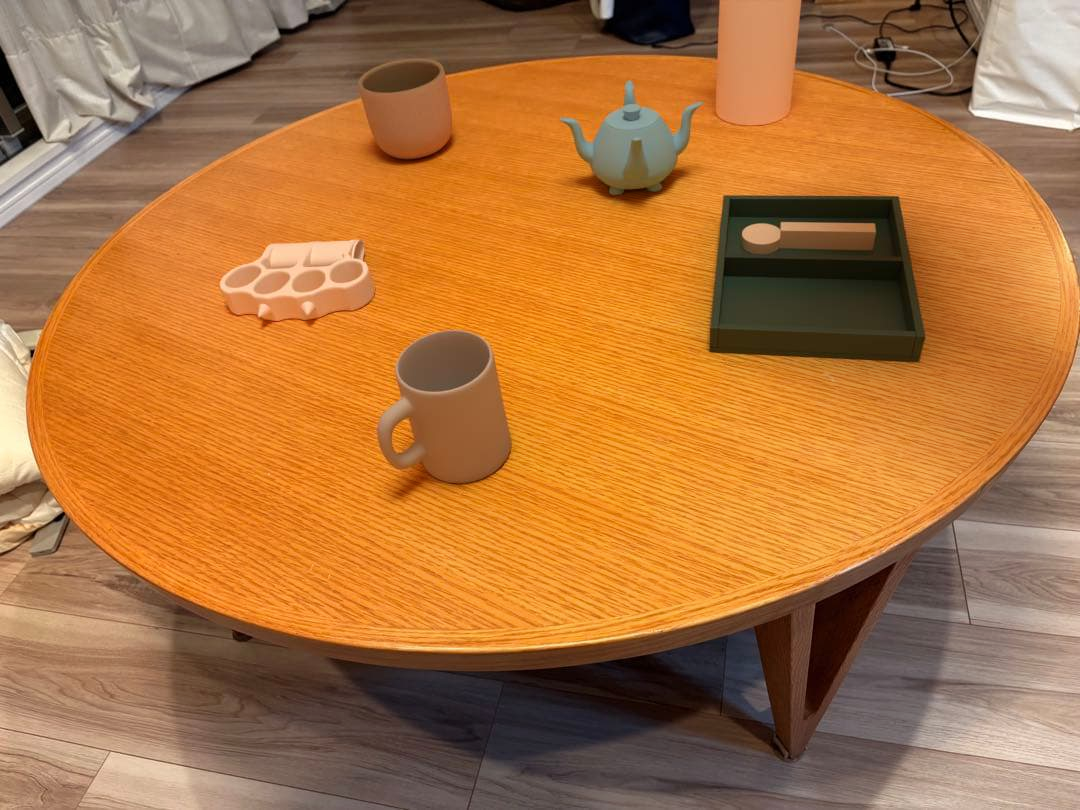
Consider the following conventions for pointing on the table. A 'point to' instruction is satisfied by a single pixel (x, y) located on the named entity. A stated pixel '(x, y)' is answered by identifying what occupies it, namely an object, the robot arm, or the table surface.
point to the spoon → (808, 236)
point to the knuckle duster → (300, 281)
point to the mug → (448, 408)
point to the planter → (407, 107)
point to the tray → (816, 284)
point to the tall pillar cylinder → (756, 60)
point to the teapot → (633, 146)
